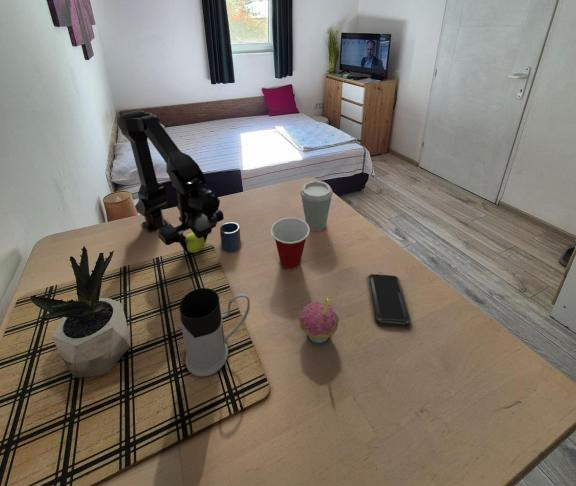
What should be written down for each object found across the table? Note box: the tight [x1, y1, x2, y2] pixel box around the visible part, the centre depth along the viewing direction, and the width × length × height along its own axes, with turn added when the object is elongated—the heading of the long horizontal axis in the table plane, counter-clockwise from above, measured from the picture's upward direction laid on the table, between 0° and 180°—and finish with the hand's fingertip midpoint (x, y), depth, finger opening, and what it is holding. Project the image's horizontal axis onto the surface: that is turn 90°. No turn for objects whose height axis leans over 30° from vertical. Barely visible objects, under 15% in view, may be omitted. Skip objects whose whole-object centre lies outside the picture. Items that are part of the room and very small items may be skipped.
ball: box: [185, 232, 206, 254], centre depth 98 cm, size 6×6×6 cm
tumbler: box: [219, 221, 242, 253], centre depth 100 cm, size 6×6×7 cm
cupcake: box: [298, 296, 340, 344], centre depth 71 cm, size 9×8×12 cm
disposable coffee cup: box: [299, 180, 334, 232], centre depth 108 cm, size 11×11×15 cm
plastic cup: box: [270, 216, 311, 270], centre depth 92 cm, size 11×11×12 cm
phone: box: [368, 273, 411, 327], centre depth 82 cm, size 8×1×15 cm
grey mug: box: [178, 287, 251, 377], centre depth 66 cm, size 9×14×15 cm, turn 113°
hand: (195, 247), depth 99 cm, fingers closed on ball, 6 cm apart
